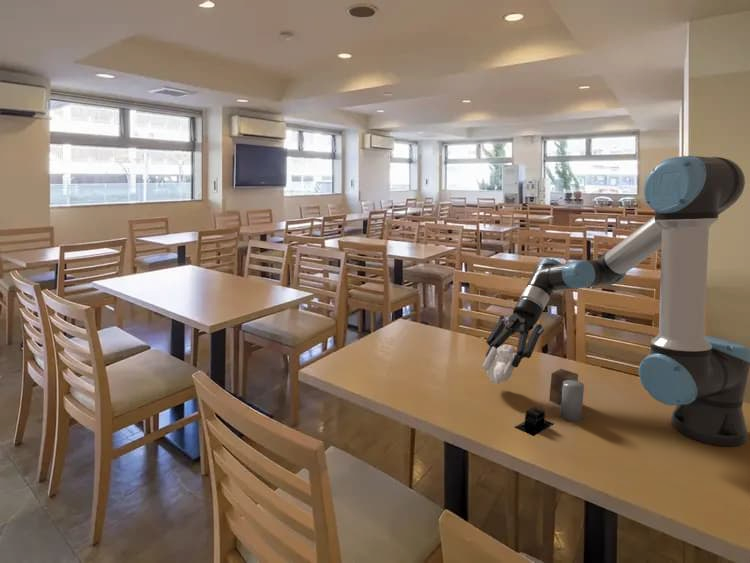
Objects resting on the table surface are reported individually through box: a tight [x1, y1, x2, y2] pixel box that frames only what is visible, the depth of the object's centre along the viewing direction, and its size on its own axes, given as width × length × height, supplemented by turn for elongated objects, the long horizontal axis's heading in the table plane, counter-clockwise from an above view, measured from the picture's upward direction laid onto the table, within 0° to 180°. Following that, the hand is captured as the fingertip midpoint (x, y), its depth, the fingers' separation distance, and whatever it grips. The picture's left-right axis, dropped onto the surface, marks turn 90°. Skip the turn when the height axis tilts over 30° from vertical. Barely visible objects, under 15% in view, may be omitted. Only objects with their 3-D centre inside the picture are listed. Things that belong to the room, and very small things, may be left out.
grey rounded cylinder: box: [559, 380, 585, 423], centre depth 123 cm, size 5×5×9 cm
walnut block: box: [548, 368, 579, 406], centre depth 133 cm, size 5×5×8 cm
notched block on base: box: [513, 406, 555, 437], centre depth 120 cm, size 12×7×5 cm, turn 130°
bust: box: [486, 343, 516, 384], centre depth 138 cm, size 12×8×11 cm
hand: (495, 371), depth 135 cm, fingers closed on bust, 6 cm apart
